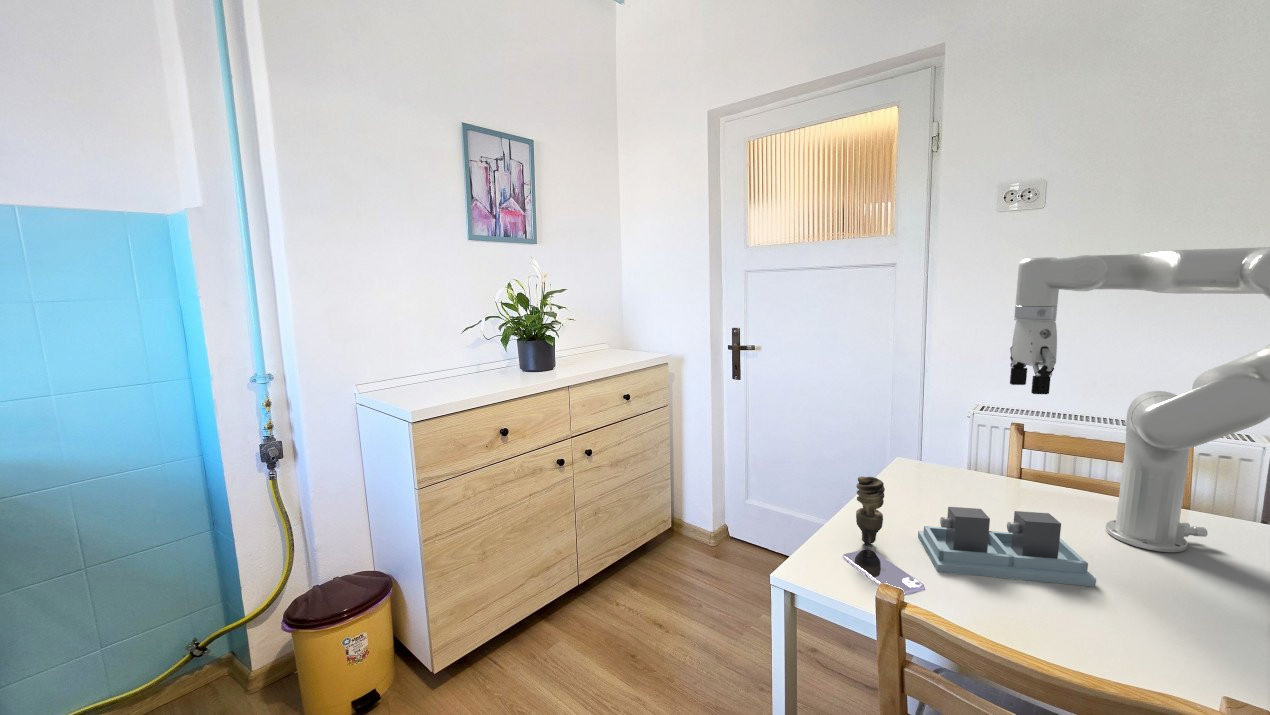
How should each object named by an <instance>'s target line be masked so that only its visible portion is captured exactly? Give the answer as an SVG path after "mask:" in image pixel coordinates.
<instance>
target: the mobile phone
mask: <svg viewBox="0 0 1270 715" xmlns="http://www.w3.org/2000/svg"><path fill="white" fill-rule="evenodd" d="M841 555H842V556H841V557H843V558H844V559H845V560H846V561H845V560H844V559H843V558H842V559H843V560H844V561H845V562H847V561H848V562H850V563H851V564H852V565H853V566H852V565H851V564H850V565H851V566H852V567H854V566H855V567H856V568H857V569H856V568H855V567H854V568H855V569H856V570H858V569H859V570H860V571H862V572H863V573H865V574H867V575H868V576H869V577H871V578H873V579H875V580H876V581H877V582H878V584H879V583H888V584H890V585H893V586H896V587H900V588H902V589H903V590H904V593H905V595H904V596H906V595H908V594H909V595H910V594H912V593H917V592H922V591H924V590H925V589H926V586H925V585H924V584H923V583H922V582H921V581H919V580H918V579H916V578H915V577H914V576H912V575H910V574H909V573H908V572H906V571H904V570H903V569H901V568H900V567H898V566H897V565H895V564H894V563H892V561H890V560H888V559H886V557H884V556H882V555H881V554H879V553H877V552H876V551H875V550H873V549H870V548H866V549H865V548H864V549H861V550H856V551H852V552H846V553H844V554H841ZM848 562H847V563H848ZM859 570H858V571H859ZM860 571H859V572H860ZM862 572H861V573H862ZM863 573H862V574H863ZM886 581H887V582H886ZM878 584H877V585H878Z"/></svg>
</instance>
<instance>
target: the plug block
mask: <svg viewBox="0 0 1270 715" xmlns="http://www.w3.org/2000/svg"><path fill="white" fill-rule="evenodd" d="M1006 529H1007V532H1009V533H1013V534H1012V545H1011V549H1012V550H1013V551H1014V552H1015V553H1016V554H1017V555H1018V556H1029V557H1041V558H1053V559H1058V550H1059V541H1060V538H1061V530H1062V523H1061V522H1060V521H1059V520H1058V519H1056V518H1055V517H1054V516H1053V515H1052V514H1051V513H1050V512H1049V513H1048V512H1036V511H1020V510H1019V511H1017V510H1014V513H1013V521H1012V522H1011V521H1007V523H1006Z"/></svg>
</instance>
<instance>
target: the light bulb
mask: <svg viewBox="0 0 1270 715" xmlns="http://www.w3.org/2000/svg"><path fill="white" fill-rule="evenodd" d="M857 481H858V482H857V484H856V486H855V487H856V488H857V489H858V490H857V491H856V494H857V496H856V500H857V502H858V503H860V504H861V505H862V508H859V509H857V510H856V513H855V514H856V515H855V521H856V525H857V528H859V530H860V531H861V541H862V542H863V544H864V545H865V546H870V545H871V544H873V543H875V541H877V533H879V531H880V530H882V527H883V523H884V522H883V521H884V514H883V513H882V511H880V510H878V509H880V508H881V507H882V506H883V505H884V503H885V501H884V498H885V491H886V490H885V489H886V488H885V485H884V482H883V481H882V480H881V479H878V478H877V477H875V476H862V475H861V476H858V478H857Z"/></svg>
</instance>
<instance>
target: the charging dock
mask: <svg viewBox="0 0 1270 715" xmlns="http://www.w3.org/2000/svg"><path fill="white" fill-rule="evenodd" d="M946 531H947V528H942V527H941V526H932V525H931V526H930V525H924V527H923V530H918V531H917V538H918V539H919V542H920V544H921V545H922V548H923V549H924V550H925V552H926V554H927V556H928V558H929V559H930V561H931V562H932V565H933V566H934V568H935V569H936V572H937V573H946V574H957V575H958V574H959V575H968V576H978V577H987V578H988V577H989V578H999V579H1010V580H1021V581H1032V582H1040V583H1041V582H1042V583H1053V584H1065V585H1074V586H1085V587H1094V588H1095V587H1096V585H1097V578H1096V577H1095V576H1094V575H1093V574H1091V573H1090V571H1089V568H1088V567H1089V562H1087V561H1086V560H1085V559H1084V558H1083V557H1082V556H1081V555H1080V554H1078V552H1076V551H1075V550H1074V549H1073V548H1072V547H1071V546H1070V545H1068V544H1067V543H1066V542H1065V541H1064V540H1063V539H1062V538H1061V537H1060V541H1059V550H1058V559H1053V558H1041V557H1029V556H1018V555H1017V554H1016V553H1015V552H1014V551H1013V550H1012V549H1011V545H1012V534H1013V533H1009V532H1008V531H995V530H989V537H988V549H987V553H982V552H970V551H959V550H950V549H949V547H948V546H947V544H946Z"/></svg>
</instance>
